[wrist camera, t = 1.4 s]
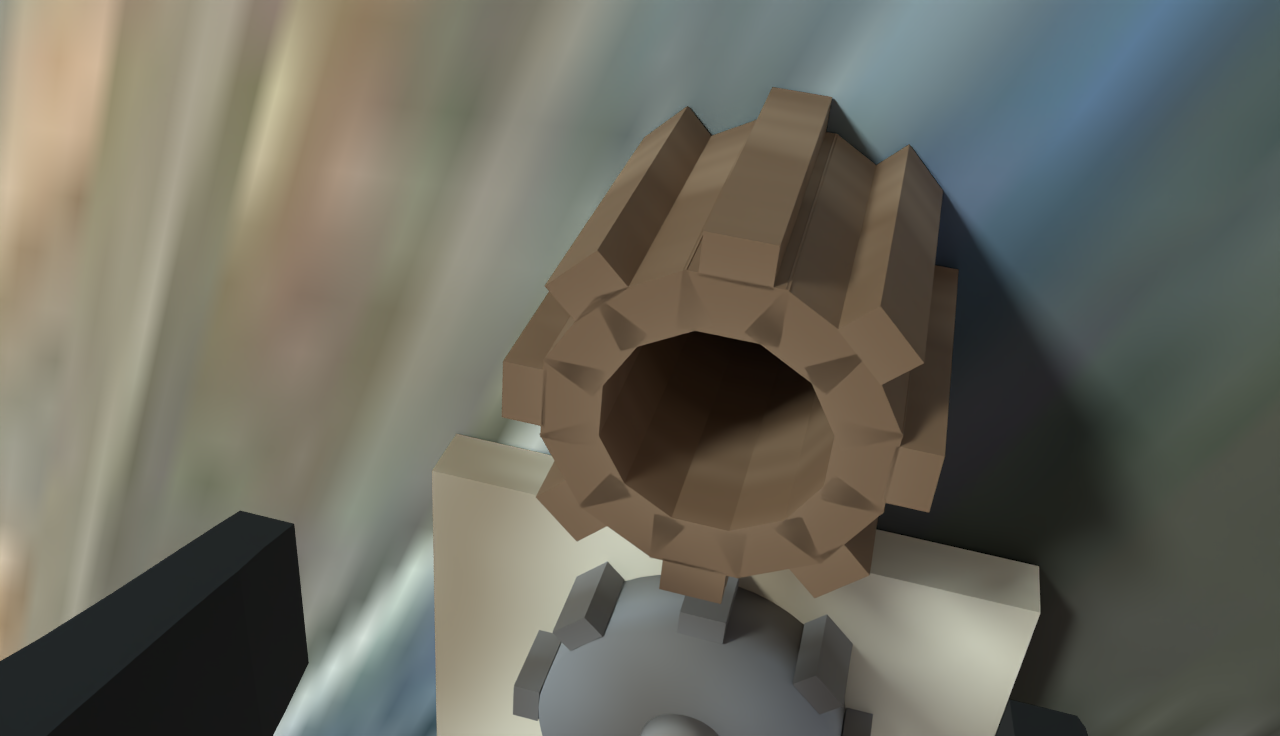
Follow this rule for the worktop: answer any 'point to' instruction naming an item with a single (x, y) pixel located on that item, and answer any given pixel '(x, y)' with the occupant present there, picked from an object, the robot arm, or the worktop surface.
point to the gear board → (701, 629)
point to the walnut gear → (745, 352)
